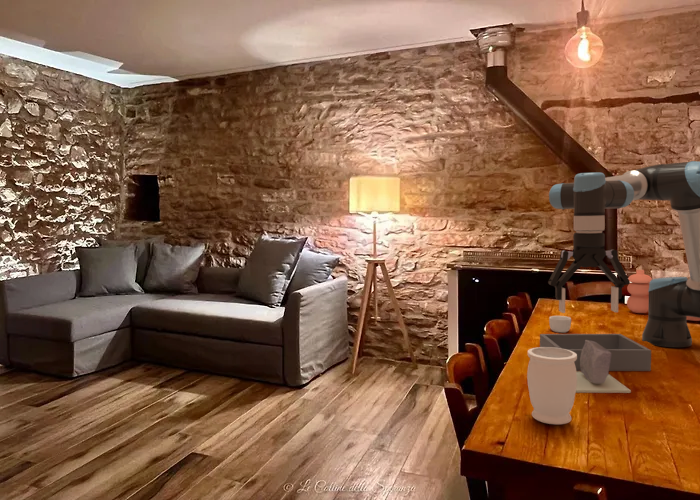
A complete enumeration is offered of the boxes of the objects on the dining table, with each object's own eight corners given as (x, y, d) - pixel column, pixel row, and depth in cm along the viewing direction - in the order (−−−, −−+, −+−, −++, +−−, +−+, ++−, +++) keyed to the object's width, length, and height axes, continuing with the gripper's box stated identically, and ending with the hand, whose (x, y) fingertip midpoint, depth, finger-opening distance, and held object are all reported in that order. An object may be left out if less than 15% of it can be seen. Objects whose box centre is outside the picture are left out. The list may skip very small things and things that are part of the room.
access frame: (620, 352, 175) (620, 333, 175) (650, 370, 155) (651, 350, 155) (539, 352, 177) (539, 334, 177) (559, 370, 157) (559, 350, 156)
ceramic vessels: (718, 313, 235) (720, 270, 234) (723, 322, 217) (725, 275, 215) (627, 307, 252) (628, 267, 251) (625, 315, 234) (626, 272, 233)
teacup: (568, 334, 200) (568, 320, 200) (547, 332, 204) (547, 318, 204) (573, 329, 209) (573, 315, 208) (552, 327, 213) (553, 314, 212)
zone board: (605, 373, 153) (605, 371, 153) (630, 392, 137) (630, 390, 137) (547, 373, 154) (547, 371, 154) (565, 392, 138) (565, 390, 138)
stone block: (612, 388, 139) (612, 349, 139) (592, 387, 140) (593, 349, 139) (596, 374, 151) (597, 338, 150) (578, 373, 152) (579, 338, 151)
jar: (519, 410, 127) (520, 347, 126) (562, 408, 128) (563, 345, 126) (539, 428, 116) (539, 359, 115) (585, 426, 117) (586, 357, 116)
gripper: (631, 230, 146) (630, 308, 147) (536, 232, 147) (536, 309, 149) (644, 231, 138) (643, 313, 140) (544, 233, 140) (544, 314, 142)
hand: (588, 311), depth 144 cm, fingers open, 13 cm apart
